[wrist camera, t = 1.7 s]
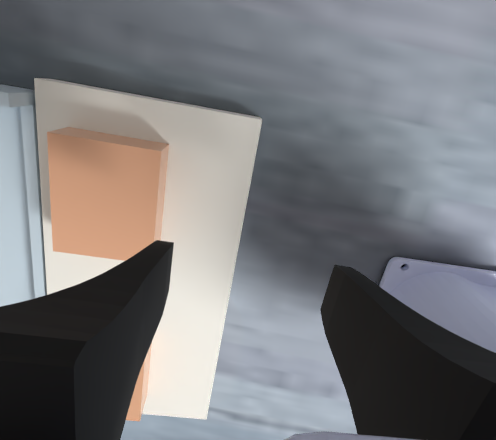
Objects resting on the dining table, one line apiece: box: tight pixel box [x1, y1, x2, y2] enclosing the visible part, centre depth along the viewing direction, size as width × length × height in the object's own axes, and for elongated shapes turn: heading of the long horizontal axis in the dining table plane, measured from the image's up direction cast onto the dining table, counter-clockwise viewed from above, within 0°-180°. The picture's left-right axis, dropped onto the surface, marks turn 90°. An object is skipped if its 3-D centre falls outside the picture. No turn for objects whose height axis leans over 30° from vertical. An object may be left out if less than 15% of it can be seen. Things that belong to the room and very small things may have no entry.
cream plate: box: [34, 78, 262, 419], centre depth 21 cm, size 11×22×2 cm, turn 170°
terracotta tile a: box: [47, 127, 169, 261], centre depth 17 cm, size 5×6×2 cm
